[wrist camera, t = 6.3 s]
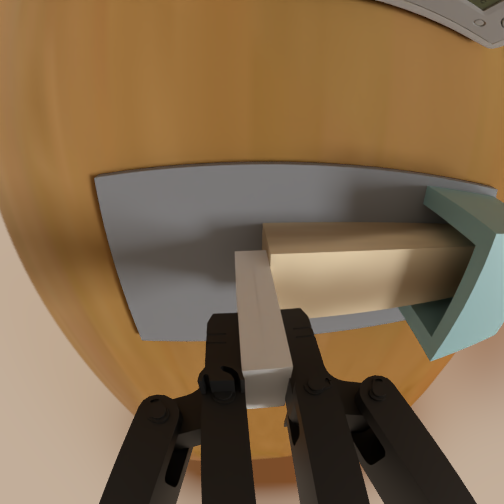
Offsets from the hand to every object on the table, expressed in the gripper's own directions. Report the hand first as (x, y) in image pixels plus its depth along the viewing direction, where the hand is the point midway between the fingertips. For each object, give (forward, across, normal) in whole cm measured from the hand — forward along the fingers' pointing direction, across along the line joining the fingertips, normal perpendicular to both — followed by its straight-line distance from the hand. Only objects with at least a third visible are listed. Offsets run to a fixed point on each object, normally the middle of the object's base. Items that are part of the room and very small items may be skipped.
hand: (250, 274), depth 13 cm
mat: (+2, +6, -1) cm, 6 cm away
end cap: (+2, +15, 0) cm, 15 cm away
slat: (+2, +8, 0) cm, 8 cm away
